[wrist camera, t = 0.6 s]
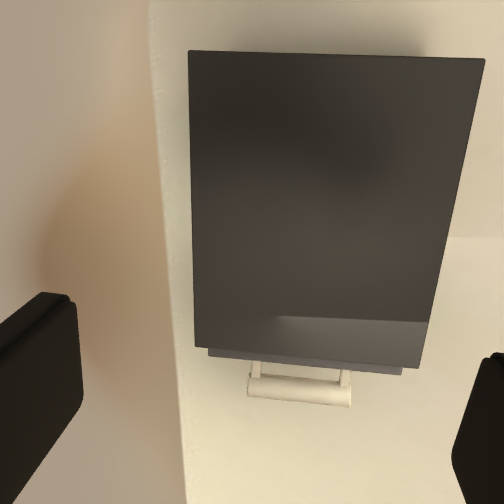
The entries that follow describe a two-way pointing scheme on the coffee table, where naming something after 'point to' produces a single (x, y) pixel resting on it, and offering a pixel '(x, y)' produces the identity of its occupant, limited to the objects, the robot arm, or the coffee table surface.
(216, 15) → the coffee table surface
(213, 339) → the drawer box
